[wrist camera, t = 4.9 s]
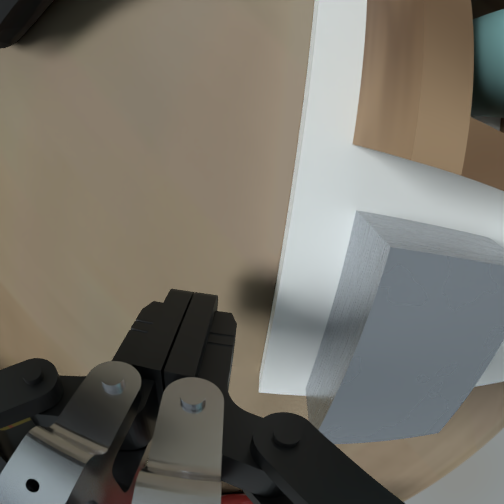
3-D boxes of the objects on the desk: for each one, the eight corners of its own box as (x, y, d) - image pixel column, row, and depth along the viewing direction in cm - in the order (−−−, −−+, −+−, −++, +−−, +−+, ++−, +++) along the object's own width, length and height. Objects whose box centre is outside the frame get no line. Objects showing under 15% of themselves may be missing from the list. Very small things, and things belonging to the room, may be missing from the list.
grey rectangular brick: (356, 210, 9) (390, 247, 6) (488, 237, 9) (535, 271, 6) (305, 388, 12) (310, 444, 10) (419, 387, 12) (438, 432, 10)
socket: (367, -42, 5) (410, -102, 2) (519, 34, 5) (585, 26, 2) (352, 144, 8) (410, 160, 5) (508, 191, 8) (579, 227, 5)
